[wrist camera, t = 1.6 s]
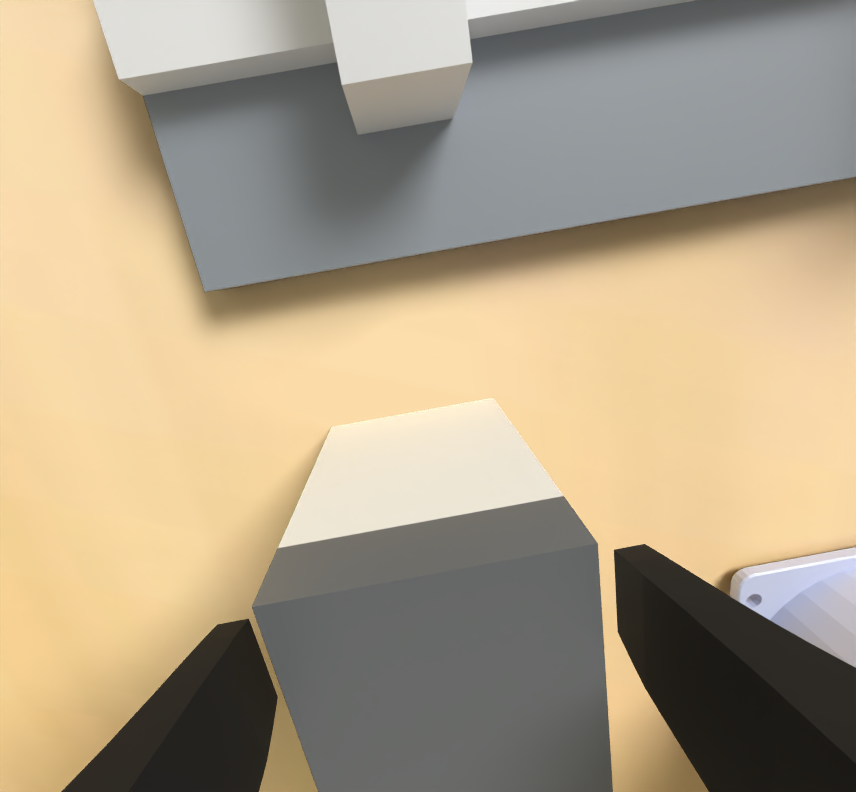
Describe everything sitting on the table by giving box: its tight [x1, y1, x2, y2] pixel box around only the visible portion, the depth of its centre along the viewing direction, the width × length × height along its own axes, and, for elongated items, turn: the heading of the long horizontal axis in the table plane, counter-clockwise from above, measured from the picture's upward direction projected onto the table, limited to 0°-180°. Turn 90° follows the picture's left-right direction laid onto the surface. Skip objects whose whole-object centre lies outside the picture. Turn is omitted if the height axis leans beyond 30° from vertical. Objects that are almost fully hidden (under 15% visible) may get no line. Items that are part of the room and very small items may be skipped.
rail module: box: [252, 398, 613, 792], centre depth 9 cm, size 6×4×6 cm
